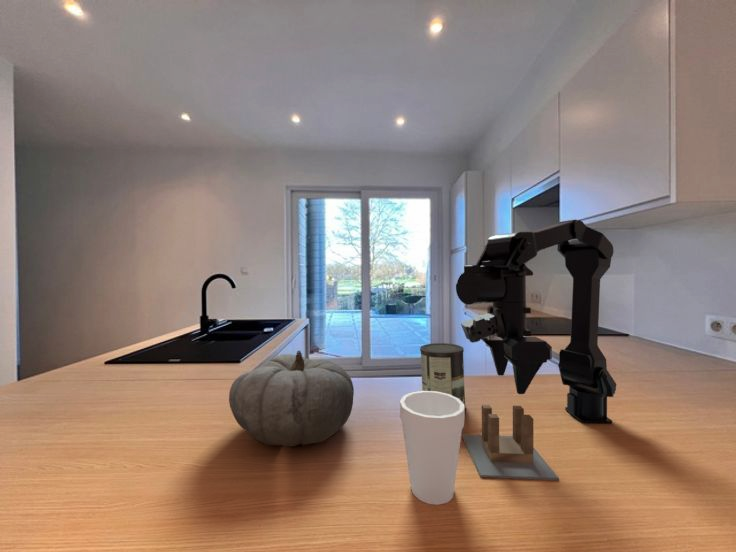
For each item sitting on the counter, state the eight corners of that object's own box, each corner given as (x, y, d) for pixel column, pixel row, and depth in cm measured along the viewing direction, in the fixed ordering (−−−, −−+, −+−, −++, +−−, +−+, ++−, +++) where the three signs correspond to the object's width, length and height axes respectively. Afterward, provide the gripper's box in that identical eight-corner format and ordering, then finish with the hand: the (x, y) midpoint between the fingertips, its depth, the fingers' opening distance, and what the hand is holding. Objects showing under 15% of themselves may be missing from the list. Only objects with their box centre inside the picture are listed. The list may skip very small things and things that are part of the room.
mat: (524, 438, 60) (524, 436, 60) (558, 480, 48) (558, 477, 48) (462, 436, 60) (462, 434, 60) (480, 477, 48) (480, 474, 48)
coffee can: (455, 395, 80) (453, 341, 80) (473, 413, 70) (471, 351, 70) (417, 398, 79) (415, 344, 79) (429, 416, 69) (426, 354, 69)
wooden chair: (490, 461, 52) (490, 417, 52) (481, 444, 57) (481, 404, 57) (533, 463, 51) (533, 418, 51) (520, 446, 56) (520, 405, 56)
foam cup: (396, 470, 50) (395, 391, 50) (450, 466, 51) (450, 389, 51) (408, 516, 41) (408, 419, 41) (475, 511, 42) (475, 416, 41)
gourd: (208, 467, 47) (224, 352, 50) (233, 420, 71) (243, 343, 74) (365, 459, 53) (370, 356, 56) (340, 418, 77) (345, 347, 80)
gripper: (453, 297, 67) (454, 368, 67) (480, 308, 48) (481, 406, 48) (505, 296, 66) (506, 367, 67) (553, 306, 48) (554, 406, 48)
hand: (509, 383), depth 57 cm, fingers open, 9 cm apart
